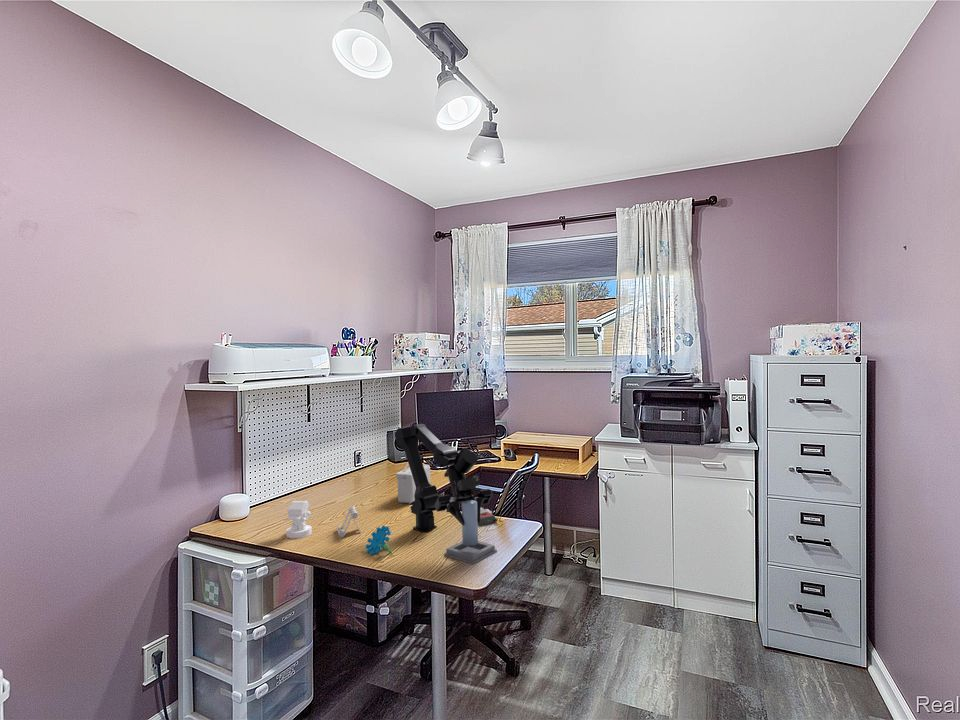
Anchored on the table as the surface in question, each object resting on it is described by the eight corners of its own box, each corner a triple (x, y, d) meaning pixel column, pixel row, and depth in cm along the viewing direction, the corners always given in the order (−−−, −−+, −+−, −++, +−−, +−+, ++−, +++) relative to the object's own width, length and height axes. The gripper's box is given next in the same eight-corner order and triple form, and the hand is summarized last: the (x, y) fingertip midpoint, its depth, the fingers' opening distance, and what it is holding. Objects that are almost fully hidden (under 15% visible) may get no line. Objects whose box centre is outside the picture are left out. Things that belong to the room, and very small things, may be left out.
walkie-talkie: (502, 523, 186) (479, 509, 204) (502, 511, 186) (479, 498, 204) (481, 527, 182) (460, 512, 200) (481, 515, 182) (459, 501, 200)
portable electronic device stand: (337, 530, 182) (336, 508, 182) (358, 527, 184) (358, 505, 184) (339, 538, 174) (338, 514, 174) (361, 535, 176) (361, 511, 176)
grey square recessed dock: (444, 555, 156) (444, 548, 156) (468, 543, 165) (468, 537, 165) (473, 564, 148) (473, 557, 148) (497, 551, 158) (496, 545, 158)
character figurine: (315, 530, 183) (314, 498, 183) (303, 539, 173) (302, 505, 173) (293, 529, 184) (292, 498, 184) (280, 539, 174) (279, 505, 174)
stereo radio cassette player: (412, 504, 211) (411, 458, 211) (395, 503, 214) (394, 458, 214) (431, 491, 231) (430, 449, 231) (415, 491, 234) (414, 449, 234)
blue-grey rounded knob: (459, 543, 156) (458, 502, 156) (469, 538, 160) (468, 499, 160) (471, 547, 153) (470, 505, 153) (481, 542, 157) (480, 501, 157)
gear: (360, 544, 163) (381, 519, 166) (372, 553, 166) (392, 528, 169) (371, 559, 154) (393, 533, 157) (384, 568, 156) (405, 542, 159)
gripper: (436, 471, 157) (449, 515, 146) (489, 464, 164) (505, 506, 154) (430, 489, 164) (441, 533, 154) (481, 482, 171) (495, 523, 161)
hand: (471, 523), depth 155 cm, fingers closed on blue-grey rounded knob, 5 cm apart
